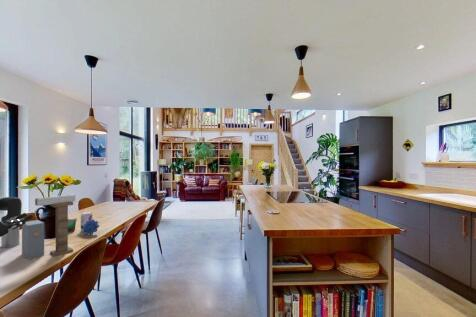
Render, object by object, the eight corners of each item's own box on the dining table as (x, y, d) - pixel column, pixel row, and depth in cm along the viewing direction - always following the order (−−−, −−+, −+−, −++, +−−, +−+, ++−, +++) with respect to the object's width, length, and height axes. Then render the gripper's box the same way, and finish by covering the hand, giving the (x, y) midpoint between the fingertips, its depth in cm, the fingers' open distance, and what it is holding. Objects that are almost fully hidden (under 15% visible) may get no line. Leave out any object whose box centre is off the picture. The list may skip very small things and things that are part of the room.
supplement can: (94, 229, 208) (94, 211, 208) (88, 232, 199) (88, 214, 199) (84, 229, 207) (84, 212, 207) (78, 232, 199) (78, 214, 199)
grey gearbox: (21, 254, 153) (22, 222, 153) (37, 250, 160) (38, 220, 160) (28, 259, 146) (28, 225, 146) (44, 255, 152) (44, 222, 152)
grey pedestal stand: (50, 253, 155) (50, 202, 155) (68, 248, 163) (68, 200, 163) (54, 256, 150) (54, 204, 150) (73, 251, 158) (73, 201, 158)
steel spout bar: (35, 205, 147) (35, 198, 147) (72, 200, 164) (72, 194, 164) (37, 205, 145) (37, 199, 145) (75, 201, 161) (75, 195, 161)
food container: (56, 233, 198) (56, 220, 198) (60, 231, 204) (60, 219, 204) (74, 232, 201) (74, 219, 201) (76, 229, 207) (76, 218, 207)
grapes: (100, 232, 199) (100, 217, 199) (98, 235, 193) (98, 219, 193) (83, 234, 195) (83, 219, 195) (81, 236, 189) (81, 221, 189)
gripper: (-7, 235, 136) (27, 218, 148) (2, 240, 128) (37, 222, 141) (-14, 224, 133) (21, 208, 146) (-6, 228, 126) (31, 211, 139)
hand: (29, 215), depth 143 cm, fingers open, 8 cm apart
